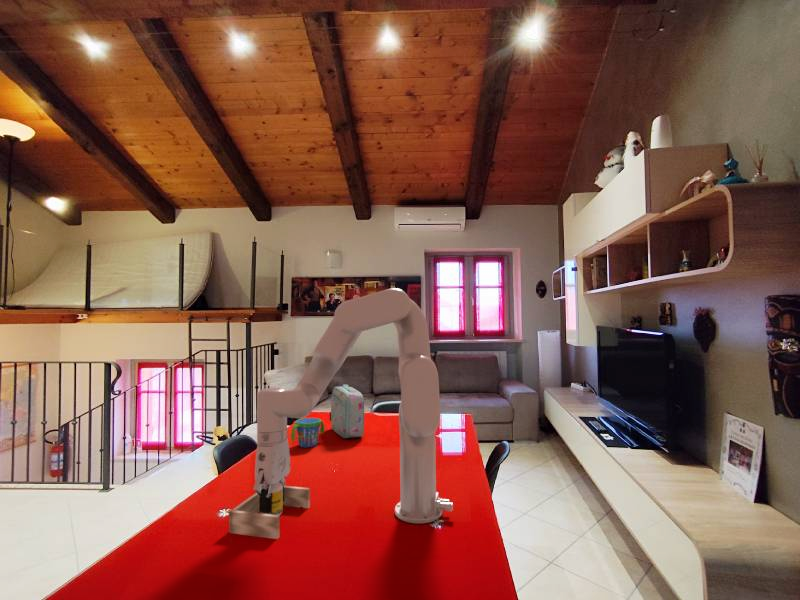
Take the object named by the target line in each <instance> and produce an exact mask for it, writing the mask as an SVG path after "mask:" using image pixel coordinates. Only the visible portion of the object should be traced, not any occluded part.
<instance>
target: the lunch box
mask: <svg viewBox="0 0 800 600" xmlns="http://www.w3.org/2000/svg"><path fill="white" fill-rule="evenodd" d="M329 422H330V425H331V429H332V430H333V431H334V432H335V433H336V434H338V436H340V437H341V438H343V439H351V438H359V437H360V438H362V437H363V435H364V429H365V428H364V427H365V399H364V395H363V394H362V392H360V391H359V390H357V389H356V388H354V387H352V386H349V384H347V383H346V384H342V385H341V386H334V387H333V389H332V392H331V402H330V411H329Z"/></svg>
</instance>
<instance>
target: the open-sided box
mask: <svg viewBox="0 0 800 600" xmlns="http://www.w3.org/2000/svg"><path fill="white" fill-rule="evenodd" d="M283 505H284V507H291V506H292V507H293V508H294V507H295V508H300V507H303V509H309V508H310V507H311V488H310V487H300V486H291V485H285V486H284V502H283ZM258 512H259V497H258V494H257V492H255V493H254V494H252V495H251V496H249V497H248V498H247V499H245V500H244V501H242V502H240V503H239V504H238V505H237V506H235V507H234V508H233V509H231V510H229V513H228V519H229V520H228V523H229V524H228V533H229V534H234V535H235V534H236V535H242V536H251V537H257V538H258V537H259V538H266V539H273V540H278V539H279V538H280V515H272V514H263V513H261V512H259V513H258Z"/></svg>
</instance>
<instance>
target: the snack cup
mask: <svg viewBox="0 0 800 600" xmlns="http://www.w3.org/2000/svg"><path fill="white" fill-rule="evenodd" d="M324 425H325V424H324V421H323V420H321V419H320V418H316V417H304V418H297V420H295V422H294V425H293V426H292V429H291V432H290V439H291V441H292V442H295V441H296V435H297V442H298V446H299V447H301V448H312V447H315V446H317V445H318V440H319V435H320V434H324V433H325V426H324Z"/></svg>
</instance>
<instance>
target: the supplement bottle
mask: <svg viewBox="0 0 800 600" xmlns="http://www.w3.org/2000/svg"><path fill="white" fill-rule="evenodd" d="M264 483H266V481H264ZM263 489H265V490H266V491H267V486H264V488H263ZM270 496H272V512H271V513H263V512H260V513H263V514H272V515H279V516H280V515H281V514H282V513H283V511H284V509H283V485H282V483H280V481H279V482H278V483H276V484H275V485H273V486H272V487H271V493H270Z"/></svg>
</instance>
